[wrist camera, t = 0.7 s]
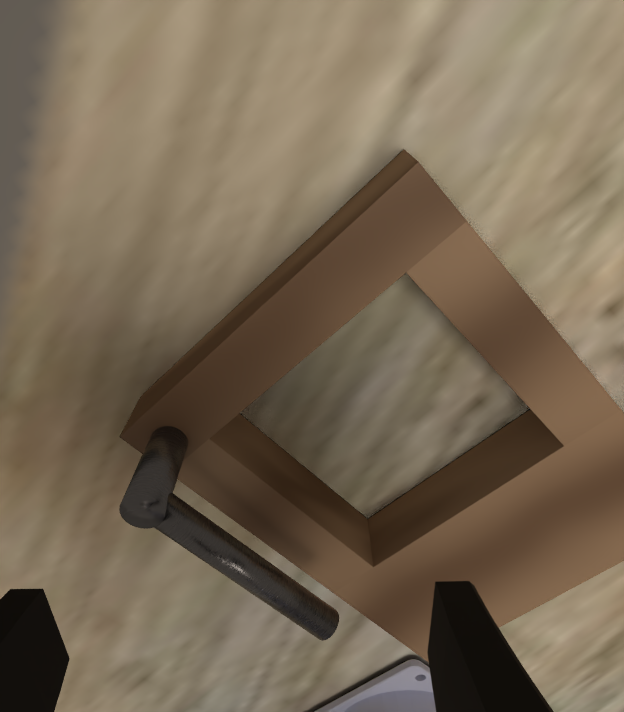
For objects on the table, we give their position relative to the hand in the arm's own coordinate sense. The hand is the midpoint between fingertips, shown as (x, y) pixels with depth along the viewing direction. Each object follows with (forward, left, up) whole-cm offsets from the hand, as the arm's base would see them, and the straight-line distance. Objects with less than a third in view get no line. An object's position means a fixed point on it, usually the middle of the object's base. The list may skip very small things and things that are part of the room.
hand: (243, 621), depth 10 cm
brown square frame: (-5, -2, -10) cm, 11 cm away
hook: (-2, +3, -10) cm, 10 cm away
